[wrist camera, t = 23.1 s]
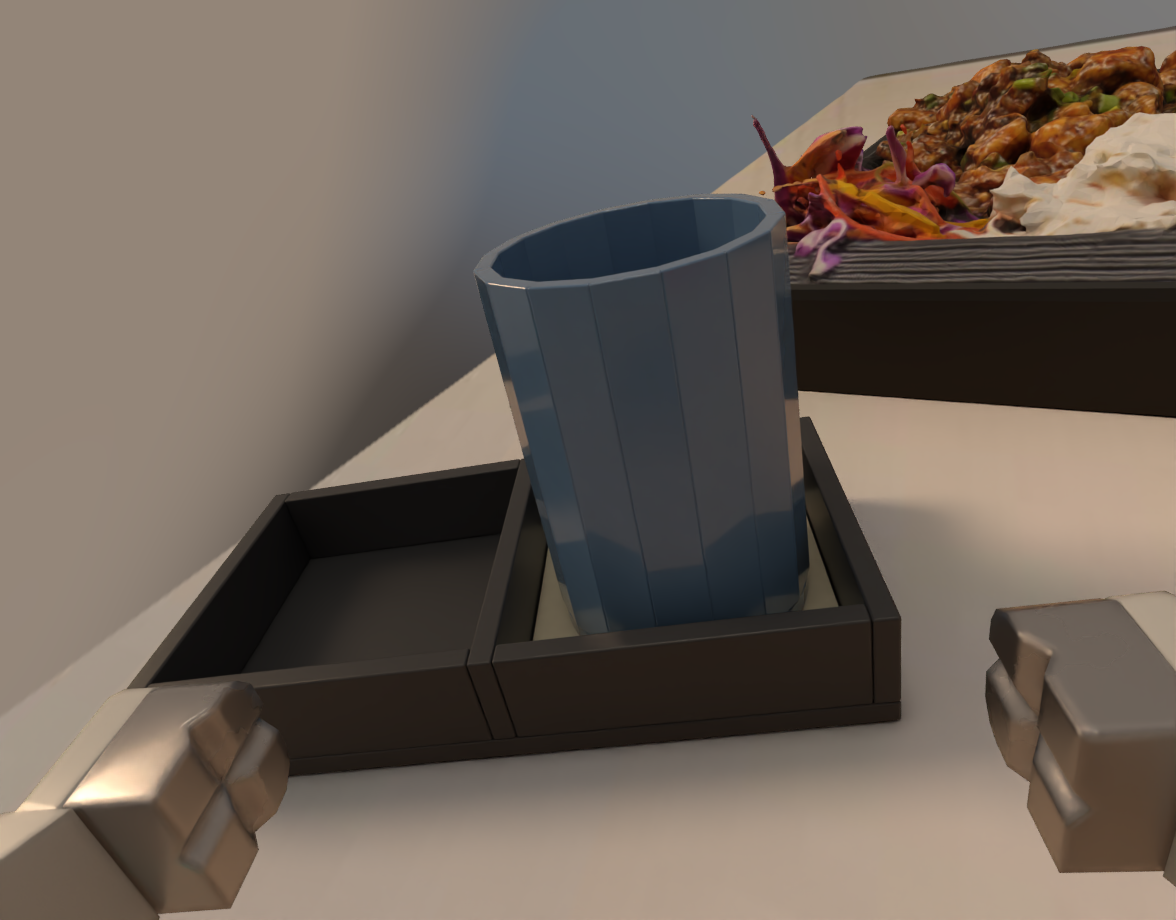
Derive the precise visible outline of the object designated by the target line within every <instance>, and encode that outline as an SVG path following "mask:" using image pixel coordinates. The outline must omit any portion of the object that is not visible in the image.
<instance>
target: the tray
mask: <svg viewBox="0 0 1176 920" xmlns="http://www.w3.org/2000/svg"><path fill="white" fill-rule="evenodd" d="M800 430H801V445H802V459H803V474H804V489H805V503H806V518H807V533H808V547H809V562H810V569H809V572H808V594H807V599H806V602H805V604H804V606H803V609H802V611H794V612H785V613H776V614H767V615H758V616H749V617H740V618H731V619H722V620H714V621H705V622H696V623H687V624H678V625H669V626H660V627H651V628H643V629H634V630H625V631H616V632H607V633H598V634H589V635H580V636H579V635H578V633H577V632H576V630H575V629H574V627H573V625H572V622H571V620H570V617H569V614H568V610H567V606H566V604H565V602H564V601H563V599H562V595H561V592H560V588H559V584H558V581H557V577H556V573H555V570H554V566H553V562H552V559H551V555H550V551H549V548H548V544H547V540H546V537H545V533H544V529H543V526H542V522H541V518H540V514H539V511H538V507H537V503H536V500H535V496H534V492H533V489H532V485H531V481H530V478H529V474H528V470H527V467H526V463H525V459H521V460H519V459H517V460H510V461H504V462H497V463H490V464H483V465H477V466H470V467H463V468H456V469H450V470H443V471H436V472H429V473H422V474H416V475H409V476H402V477H395V478H389V479H382V480H375V481H368V482H362V483H355V484H348V485H341V486H335V487H328V488H321V489H314V490H308V491H301V492H294V493H291V494H281V495H276V496H275V497H274V498H273V499H272V501H271V502H270V503H269V505H268V506H267V507H266V508H265V510H264V511H263V512H262V514H261V515H260V516H259V518H258V519H257V520H256V521H255V523H254V524H253V525H252V527H251V528H250V529H249V531H248V532H247V533H246V535H245V536H244V537H243V538H242V540H241V541H240V542H239V544H238V545H237V546H236V547H235V549H234V550H233V551H232V553H231V554H230V555H229V557H228V558H227V559H226V560H225V562H224V563H223V564H222V566H221V567H220V568H219V569H218V571H217V572H216V573H215V575H214V576H213V577H212V579H211V580H210V581H209V582H208V584H207V585H206V586H205V588H204V589H203V590H202V592H201V593H200V594H199V595H198V597H197V598H196V599H195V601H194V602H193V603H192V605H191V606H190V607H189V608H188V610H187V611H186V612H185V614H184V615H183V616H182V618H181V619H180V620H179V621H178V623H177V624H176V625H175V627H174V628H173V629H172V631H171V632H170V633H169V634H168V636H167V637H166V638H165V640H164V641H163V642H162V644H161V645H160V646H159V647H158V649H157V650H156V651H155V653H154V654H153V655H152V657H151V658H150V659H149V660H148V662H147V663H146V664H145V666H144V667H143V668H142V670H141V671H140V672H139V673H138V675H137V676H136V677H135V679H134V680H133V681H132V683H131V684H130V685H129V686H128V688H127V689H136V688H153V687H161V686H168V685H182V684H197V683H212V682H227V681H240V682H246V683H251V685H252V686H253V688H254V689H255V691H256V692H257V694H258V696H259V697H260V699H261V700H262V702H263V706H262V709H261V712H260V715H259V718H261V719H262V720H264V721H265V722H267V723H268V724H270V725H271V726H273V727H275V728H276V729H278V730H279V732H280V734H281V736H282V738H283V740H284V741H285V743H286V746H287V751H288V756H289V761H290V767H289V775H298V774H309V773H320V772H331V771H342V770H353V769H364V768H375V767H386V766H397V765H408V764H419V763H430V762H441V761H452V760H463V759H474V758H485V757H496V756H507V755H518V754H529V753H540V752H551V751H562V750H573V749H584V748H595V747H606V746H617V745H628V744H639V743H650V742H661V741H672V740H683V739H694V738H705V737H716V736H727V735H738V734H749V733H759V732H770V731H781V730H792V729H803V728H814V727H825V726H836V725H847V724H858V723H869V722H880V721H891V720H899V719H900V718H901V701H900V699H901V616H900V614H899V612H898V610H897V608H896V605H895V603H894V601H893V599H892V597H891V594H890V592H889V590H888V588H887V586H886V583H885V581H884V579H883V577H882V575H881V572H880V570H879V568H878V566H877V564H876V561H875V559H874V557H873V555H872V553H871V550H870V548H869V546H868V544H867V542H866V539H865V537H864V535H863V533H862V530H861V528H860V526H859V524H858V522H857V519H856V517H855V515H854V513H853V511H852V508H851V506H850V504H849V502H848V500H847V497H846V495H845V493H844V491H843V489H842V486H841V484H840V482H839V480H838V478H837V475H836V473H835V471H834V469H833V467H832V464H831V462H830V460H829V458H828V456H827V453H826V451H825V449H824V447H823V445H822V442H821V440H820V438H819V436H818V434H817V431H816V429H815V427H814V425H813V423H812V420H811V418H810V417H802V418H800Z"/></svg>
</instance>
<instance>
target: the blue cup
mask: <svg viewBox="0 0 1176 920" xmlns="http://www.w3.org/2000/svg"><path fill="white" fill-rule="evenodd" d="M474 276H475V279H476V283H477V286H478V290H479V294H480V298H481V301H482V304H483V309H484V312H485V316H486V320H487V323H488V327H489V331H490V334H491V337H492V341H493V345H494V349H495V353H496V356H497V360H498V364H499V367H500V371H501V375H502V378H503V382H504V386H505V389H506V393H507V397H508V401H509V404H510V408H511V412H512V415H513V419H514V423H515V426H516V430H517V434H518V437H519V441H520V445H521V448H522V452H523V456H524V459H525V463H526V467H527V470H528V474H529V478H530V481H531V485H532V489H533V492H534V496H535V500H536V503H537V507H538V511H539V514H540V518H541V522H542V526H543V529H544V533H545V537H546V540H547V544H548V548H549V551H550V555H551V559H552V562H553V566H554V570H555V573H556V577H557V581H558V584H559V588H560V592H561V595H562V599H563V601H564V602H565V604H566V606H567V610H568V614H569V617H570V620H571V622H572V625H573V627H574V629H575V630H576V632H577V633H578V635H579V636H580V635H589V634H598V633H607V632H616V631H625V630H634V629H643V628H651V627H660V626H669V625H678V624H687V623H696V622H705V621H714V620H722V619H731V618H740V617H749V616H758V615H767V614H776V613H785V612H794V611H802V609H803V606H804V604H805V602H806V599H807V594H808V572H809V569H810V562H809V547H808V533H807V518H806V503H805V489H804V474H803V459H802V445H801V430H800V416H799V401H798V386H797V372H796V357H795V342H794V328H793V313H792V299H791V284H790V269H789V255H788V240H787V225H786V213H785V212H784V210H783V209H782V208H781V207H780V206H779V205H778V204H777V202H776V201H775V200H772V199H767V198H762V197H757V196H751V195H746V194H700V195H699V194H696V195H687V196H678V197H669V198H660V199H652V200H646V201H641V202H636V203H631V204H625V205H621V206H615V207H610V208H605V209H601V210H596V211H593V212H589V213H585V214H582V215H578V216H575V217H571V218H567V219H564V220H560V221H557V222H554V223H551V224H548V225H545V226H543V227H540V228H537V229H535V230H532V231H530V232H527V233H525V234H522V235H519V236H517V237H514V238H512V239H510V240H509V241H507V242H505V243H503V244H502V245H500V246H499V247H497V248H495V249H493V250H492V251H490V252H488V253H486V254H485V255H484V256H483V257H482V259H481V260H480V262H479V264H478V265H477V266H476V268H475V270H474Z"/></svg>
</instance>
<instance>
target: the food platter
mask: <svg viewBox="0 0 1176 920" xmlns="http://www.w3.org/2000/svg"><path fill="white" fill-rule="evenodd" d="M915 101H916V104H915V105H914V107H913V108H901V109H897V110H896V111H895V112H894V113H893V114H892V115H891V116H890V117H889V118H888V122H887V124H888V126H889V127H888V128H887V131H886V135H885V136H883V137H882V138H881V139H879V140H878V141H877V142H876V143H874V144H873V145H872V146H870V147H869V148H868V149H866V150H865V151H864V152H863V149H862V148H863V146H864V144H865V141H866V139H867V136H864V135H863V134H862V131H863V128H862V127H847V128H841V129H838V130H834V131H831V132H827V133H825V134H823V135H821V136H819V137H818V138H816V139H815V141H814V142H813V143H812V144H811V146H810V147H809V148H808V149H807V150H806V152H805V153H804V154H803V155H801V158H800V159H799V160H798V161H797V162H796V163H795V164H794V165H793V166H789V167H786V166H784V165H783V164H782V163H781V161H780V160H779V159H778V157H777V156H776V153H775V151H774V150H773V148H772V147H771V146H770V143H769V141H768V140H767V138H766V135H765V132H764V130H763V129H762V127H761V125H760V123H759V122H758V121H757V119H756V118H755V117H754V116H753V115H752V118H753V119H754V122H753V126H754V127H755V128H756V129H757V131H758V133H759V136H760V138H761V140H762V141H763V143H764V145H765V148H766V150H767V152H768V155H769V158H770V161H771V165H772V169H773V174H774V188H773V189H772V190H773V192H775V201H776V202H777V204H778V205H779V206H780V207H781V208H782V209H783V210H784V212H785V213H786V225H787V240H788V255H789V269H790V284H791V299H792V313H793V328H794V342H795V357H796V372H797V386H798V390H811V391H825V392H840V393H854V394H868V395H882V396H896V397H910V398H924V399H938V400H952V401H966V402H980V403H994V404H1008V405H1022V406H1036V407H1050V408H1064V409H1078V410H1092V411H1107V412H1121V413H1135V414H1149V415H1163V416H1176V51H1174V52H1173V53H1172V54H1170V55H1169V56H1167V57H1166V59H1165V60H1164V61H1163V63H1162V66H1161V68H1160V69H1156V66H1155V58H1154V53H1153V52H1152V51H1151V49H1150V48H1147V47H1143V46H1139V47H1125V48H1122V49H1118V50H1112V51H1100V52H1098V53H1085V54H1082V55H1080V56H1079V57H1078V58H1076V59H1075V60H1073V61H1071V62H1070V63H1068V64H1065V63H1063V62H1059V63H1057V62H1055V61H1051V59H1050V57H1048V56H1046V55H1045V54H1043V53H1041V52H1039V50H1032V51H1030V52H1029V53H1027V54H1026V57H1025V58H1024V59H1023V60H1022V63H1011V62H1010V60H1008V59H1004V60H999V61H997V62H995V63H993V64H991V65H989V66H987V67H985V68H983V69H981V70H980V71H979V72H977V73H976V74H975V76H974V77H973V78H972V79H971V80H970V81H969V82H966V83H963V84H962V85H958V86H954V87H952V90H951V92H949V93H947V94H946V95H944V96H937V95H935V94H929V95H927V96H926V97H924V98H923V99H915ZM811 177H812V179H811ZM759 194H761V195H764V194H765V192H764V191H761V192H759Z"/></svg>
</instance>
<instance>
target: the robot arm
mask: <svg viewBox="0 0 1176 920" xmlns="http://www.w3.org/2000/svg"><path fill="white" fill-rule="evenodd" d="M989 640H990V642H991V643H992V645H993V647H994V649H995V651H996V653H997V654H998V656H999V659H998V660H997V661H996V662H995V663H994V664H993V665H992V666H991V667H990V668H989V669H988V670H987V671H986V692H985V697H986V703H987V709H988V715H989V721H990V725H991V728H992V731H993V734H994V737H995V740H996V743H997V745H998V747H999V750H1000V752H1001V754H1002V756H1003V758H1004V760H1005V762H1006V765H1007V766H1008V767H1009V768H1010V769H1012V770H1013V771H1015V772H1016V773H1017V774H1019V775H1020V776H1022V777H1023V778H1025V779H1026V780H1027V781H1029V782H1030V785H1029V793H1028V802H1027V808H1028V810H1029V812H1030V814H1031V816H1032V818H1033V820H1034V822H1035V824H1036V826H1037V829H1038V831H1039V833H1040V835H1041V837H1042V839H1043V841H1044V843H1045V845H1046V847H1047V849H1048V851H1049V853H1050V855H1051V857H1052V859H1053V861H1054V863H1055V865H1056V867H1057V869H1058V871H1059V873H1084V872H1145V871H1164V874H1163V877H1164V878H1166V879H1167V880H1168V881H1169V882H1170V883H1172V884H1173V885H1174V886H1175V887H1176V596H1175V595H1173V594H1171V593H1169V592H1166V591H1158V592H1149V593H1139V594H1130V595H1121V596H1112V597H1107V598H1105V599H1101V598H1098V599H1088V600H1078V601H1068V602H1058V603H1049V604H1039V605H1029V606H1019V607H1010V608H1000V609H996V611H995V613H994V615H993V617H992V619H991V625H990V635H989ZM262 706H263V702H262V700H261V699H260V697H259V696H258V694H257V692H256V691H255V689H254V688H253V686H252V685H251V683H246V682H240V681H227V682H212V683H197V684H182V685H168V686H161V687H153V688H136V689H124V690H122V691H121V692H119V693H117V694H115V695H113V696H111V697H109V698H108V699H107V700H106V701H105V703H104V704H103V705H102V706H101V708H100V709H99V710H98V711H97V712H96V714H95V715H94V716H93V717H92V719H91V720H90V721H89V722H88V724H87V725H86V726H85V727H84V728H83V730H82V731H81V732H80V733H79V735H78V736H77V737H76V738H75V739H74V741H73V742H72V743H71V744H70V746H69V747H68V748H67V749H66V751H65V752H64V753H63V754H62V755H61V757H60V758H59V759H58V760H57V762H56V763H55V764H54V765H53V766H52V768H51V769H50V770H49V771H48V773H47V774H46V775H45V776H44V778H43V779H42V780H41V781H40V782H39V784H38V785H37V786H36V787H35V789H34V790H33V791H32V792H31V793H30V795H29V796H28V797H27V798H26V800H25V801H24V802H23V803H22V805H21V806H20V807H19V808H18V809H17V811H16V812H7V813H2V814H1V815H0V920H159V918H160V917H159V915H158V914H164V913H177V912H191V911H204V910H217V909H230V908H231V907H232V905H233V902H234V900H235V898H236V896H237V894H238V892H239V890H240V888H241V886H242V884H243V882H244V880H245V877H246V875H247V873H248V871H249V869H250V867H251V865H252V863H253V861H254V859H255V857H256V854H257V852H258V850H259V849H258V844H257V839H256V834H255V832H256V831H257V830H258V829H259V828H260V827H261V826H262V825H263V824H265V823H266V822H267V821H268V820H269V819H270V818H271V817H272V816H273V815H275V814H276V812H277V810H278V808H279V806H280V803H281V801H282V799H283V797H284V794H285V792H286V790H287V783H288V775H289V767H290V761H289V756H288V751H287V746H286V743H285V741H284V740H283V738H282V736H281V734H280V732H279V730H278V729H276V728H275V727H273V726H271V725H270V724H268V723H267V722H265V721H264V720H262V719H261V718H259V715H260V712H261V709H262Z"/></svg>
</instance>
